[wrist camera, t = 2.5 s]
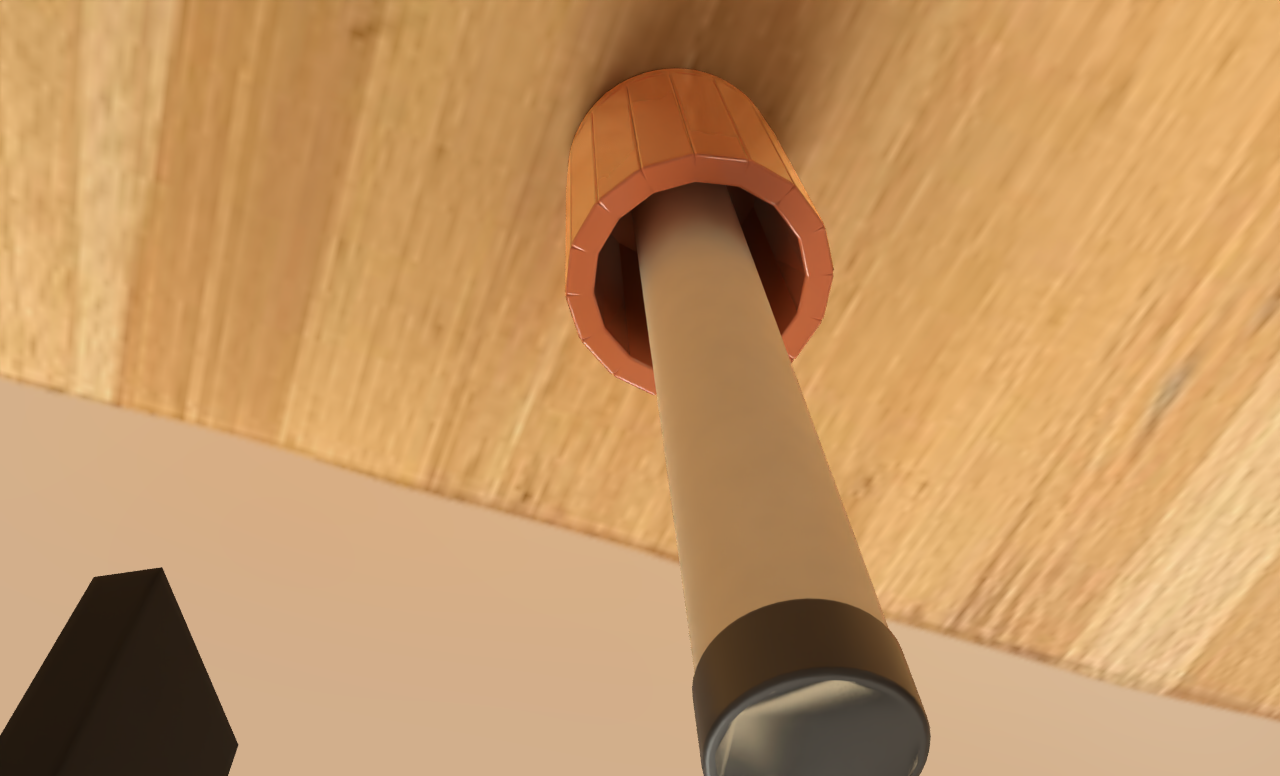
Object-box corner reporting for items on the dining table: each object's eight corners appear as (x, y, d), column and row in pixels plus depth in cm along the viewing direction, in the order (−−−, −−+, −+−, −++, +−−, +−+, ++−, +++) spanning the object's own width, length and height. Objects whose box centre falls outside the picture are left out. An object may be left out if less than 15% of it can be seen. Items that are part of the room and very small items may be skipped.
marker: (605, 173, 24) (654, 748, 10) (684, 112, 23) (854, 632, 9) (664, 244, 25) (785, 865, 11) (741, 188, 24) (974, 765, 10)
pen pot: (524, 157, 24) (511, 266, 19) (695, 21, 23) (732, 98, 18) (652, 307, 26) (672, 443, 21) (816, 189, 25) (881, 303, 20)
